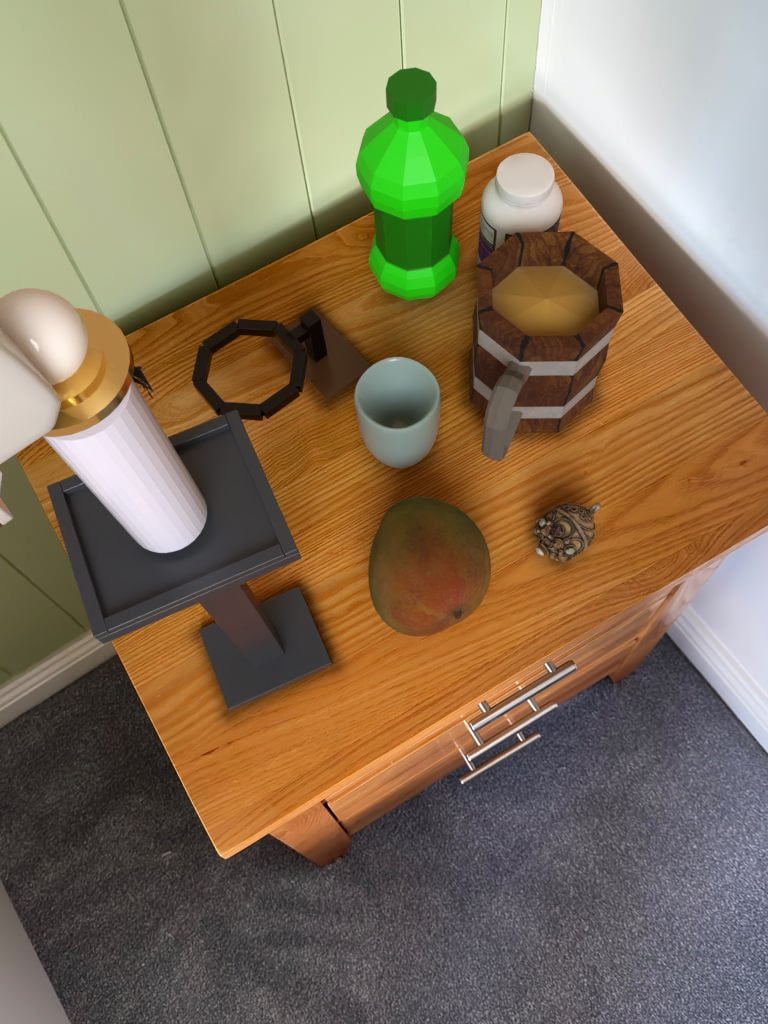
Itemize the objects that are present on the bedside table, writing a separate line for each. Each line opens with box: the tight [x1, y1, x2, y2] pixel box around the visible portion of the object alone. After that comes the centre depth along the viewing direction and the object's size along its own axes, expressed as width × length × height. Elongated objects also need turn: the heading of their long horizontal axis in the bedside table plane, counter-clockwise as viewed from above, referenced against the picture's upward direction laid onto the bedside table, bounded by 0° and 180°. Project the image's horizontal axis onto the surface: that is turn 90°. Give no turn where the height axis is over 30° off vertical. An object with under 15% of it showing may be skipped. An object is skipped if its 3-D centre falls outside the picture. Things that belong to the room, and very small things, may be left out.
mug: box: [468, 230, 625, 462], centre depth 79 cm, size 20×14×15 cm
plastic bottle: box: [355, 67, 470, 302], centre depth 81 cm, size 10×11×25 cm
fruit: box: [367, 495, 492, 637], centre depth 74 cm, size 12×12×10 cm
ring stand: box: [191, 307, 372, 422], centre depth 84 cm, size 16×11×7 cm, turn 129°
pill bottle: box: [476, 152, 564, 266], centre depth 85 cm, size 8×8×14 cm
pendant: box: [531, 501, 601, 563], centre depth 77 cm, size 5×8×5 cm, turn 129°
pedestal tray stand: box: [46, 410, 333, 712], centre depth 62 cm, size 12×10×32 cm
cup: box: [353, 356, 442, 469], centre depth 80 cm, size 8×8×10 cm
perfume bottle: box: [0, 287, 207, 553], centre depth 39 cm, size 6×6×20 cm
